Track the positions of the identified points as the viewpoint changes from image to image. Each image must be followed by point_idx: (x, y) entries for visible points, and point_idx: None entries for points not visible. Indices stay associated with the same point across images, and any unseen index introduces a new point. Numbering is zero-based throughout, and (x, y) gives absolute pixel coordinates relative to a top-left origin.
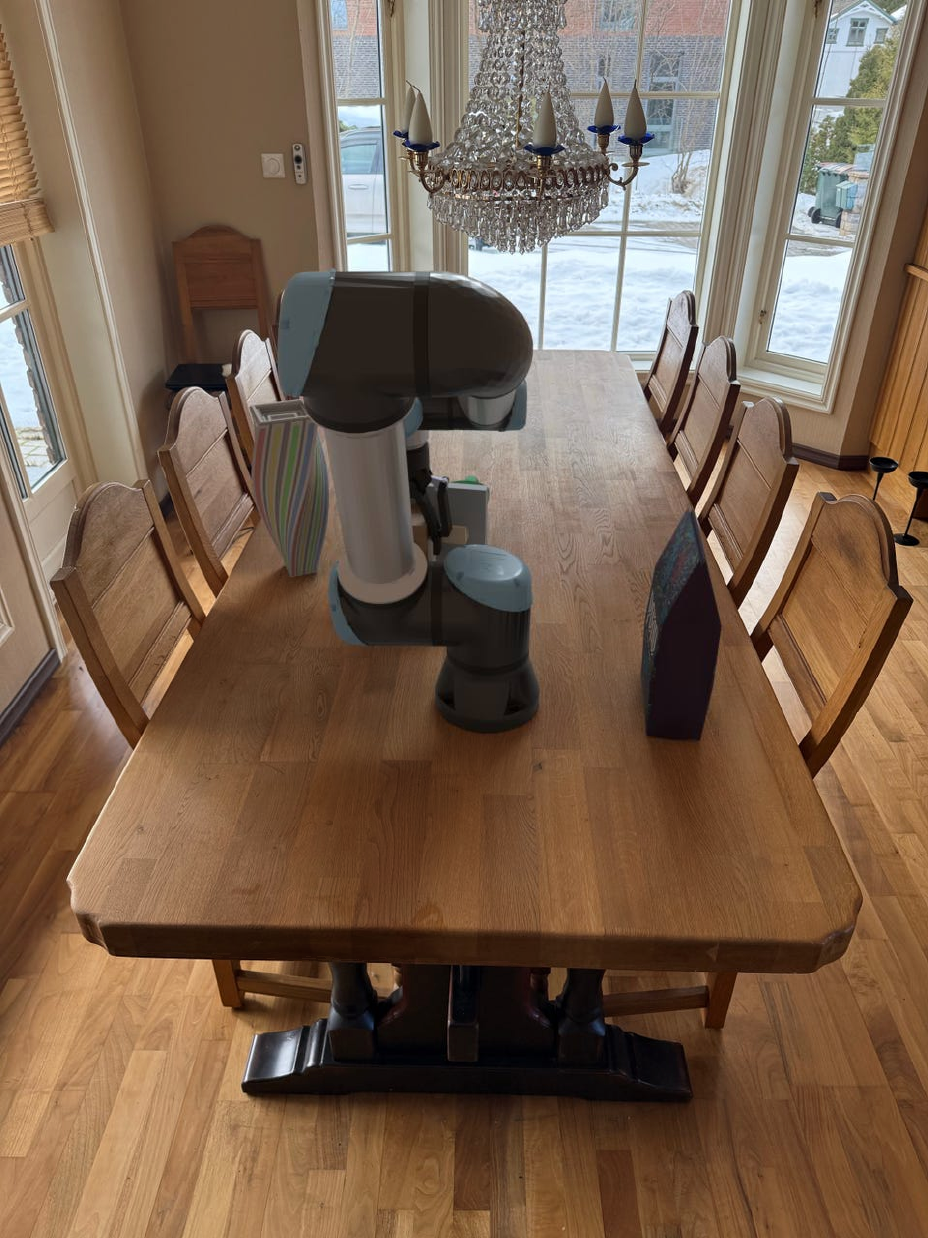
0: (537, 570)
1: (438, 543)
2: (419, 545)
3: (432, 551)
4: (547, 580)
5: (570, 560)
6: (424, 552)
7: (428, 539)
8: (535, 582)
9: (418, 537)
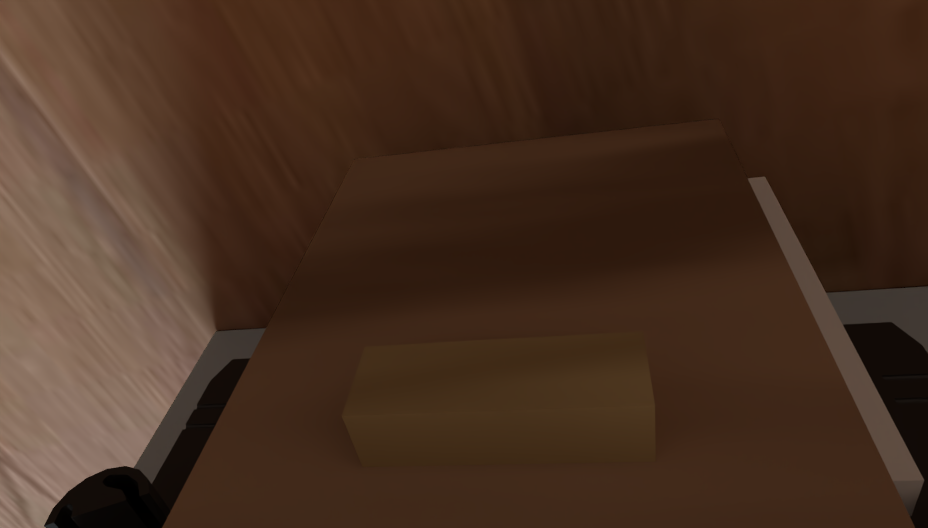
0: (91, 454)
1: (170, 469)
2: (317, 393)
3: None
4: (5, 404)
5: (41, 520)
6: (289, 330)
7: None
8: (33, 383)
9: (286, 500)
